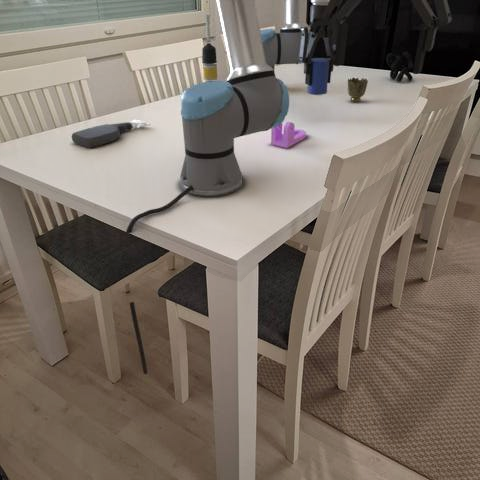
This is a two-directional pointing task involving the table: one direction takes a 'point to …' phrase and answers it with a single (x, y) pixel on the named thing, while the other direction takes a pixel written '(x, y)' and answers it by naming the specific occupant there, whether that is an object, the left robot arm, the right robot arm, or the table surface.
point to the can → (319, 76)
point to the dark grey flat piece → (104, 133)
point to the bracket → (286, 135)
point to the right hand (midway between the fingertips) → (317, 83)
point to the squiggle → (399, 66)
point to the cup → (357, 88)
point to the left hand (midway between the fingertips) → (376, 68)
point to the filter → (209, 57)
